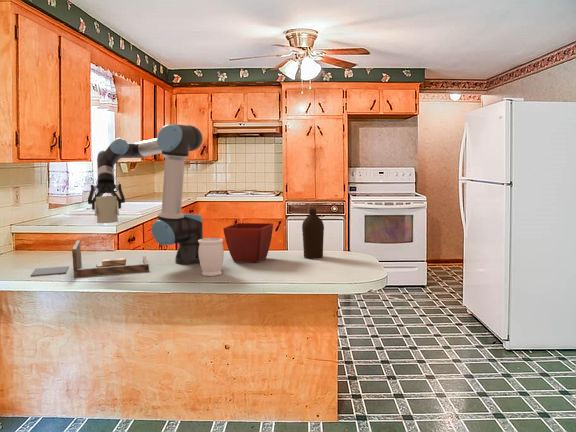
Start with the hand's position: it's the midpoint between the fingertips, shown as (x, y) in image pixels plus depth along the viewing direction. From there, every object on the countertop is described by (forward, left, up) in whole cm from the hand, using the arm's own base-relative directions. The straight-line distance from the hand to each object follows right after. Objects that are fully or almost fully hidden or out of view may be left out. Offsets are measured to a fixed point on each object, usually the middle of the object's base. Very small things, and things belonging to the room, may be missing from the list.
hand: (106, 213), depth 234 cm
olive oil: (-94, -21, -25) cm, 99 cm away
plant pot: (-63, -16, -25) cm, 69 cm away
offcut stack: (-4, +5, -25) cm, 26 cm away
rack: (-1, 0, -25) cm, 25 cm away
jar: (-50, +14, -25) cm, 57 cm away
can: (+1, -3, -4) cm, 5 cm away
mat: (+25, +6, -25) cm, 36 cm away
